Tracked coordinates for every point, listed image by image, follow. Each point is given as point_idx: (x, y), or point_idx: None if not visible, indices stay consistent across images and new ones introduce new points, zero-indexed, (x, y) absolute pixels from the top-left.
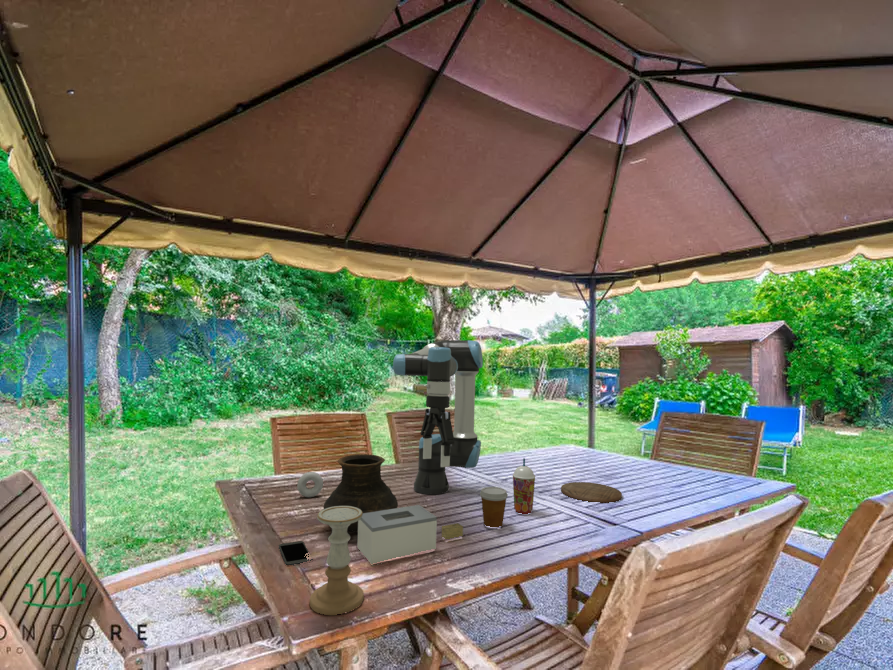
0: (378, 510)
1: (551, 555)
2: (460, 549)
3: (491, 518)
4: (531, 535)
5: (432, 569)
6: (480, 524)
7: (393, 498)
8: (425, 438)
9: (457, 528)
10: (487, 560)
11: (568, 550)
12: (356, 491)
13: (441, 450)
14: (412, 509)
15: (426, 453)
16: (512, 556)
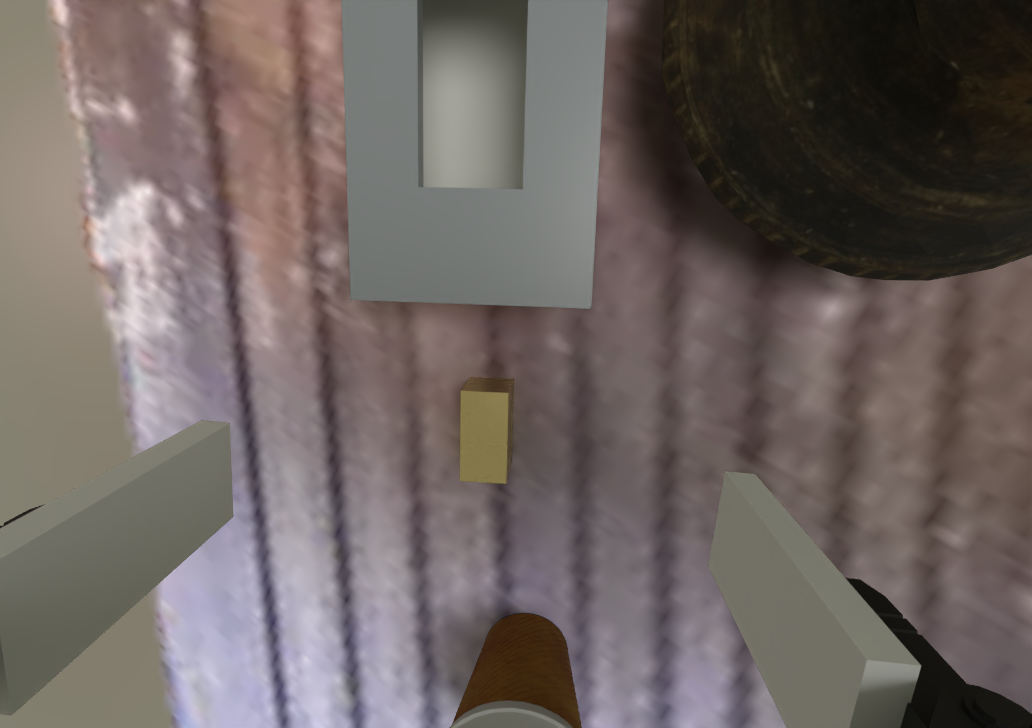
0: (687, 41)
1: (201, 648)
2: (381, 391)
3: (486, 651)
4: (374, 711)
5: (269, 193)
6: (570, 616)
7: (820, 218)
8: (905, 705)
9: (460, 449)
10: (254, 427)
11: (212, 723)
12: None
13: (61, 510)
14: (529, 226)
15: (742, 540)
16: (247, 528)
